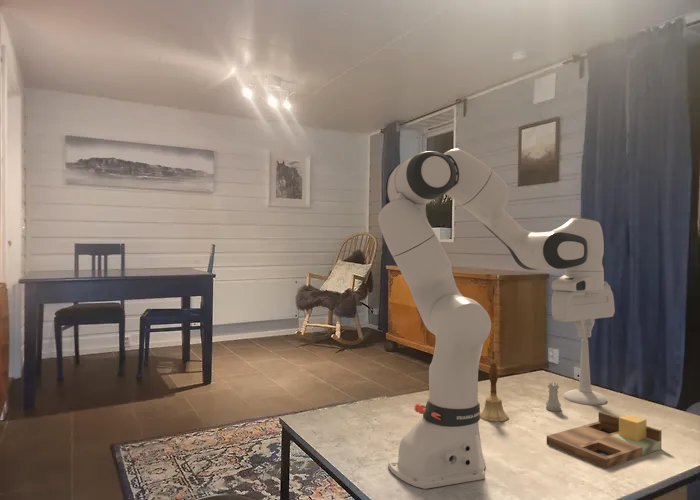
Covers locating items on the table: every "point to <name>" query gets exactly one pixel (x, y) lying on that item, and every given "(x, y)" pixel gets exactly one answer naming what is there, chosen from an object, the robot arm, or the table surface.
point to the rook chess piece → (553, 398)
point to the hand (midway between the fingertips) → (584, 337)
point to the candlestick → (585, 382)
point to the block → (632, 427)
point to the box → (604, 442)
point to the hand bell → (493, 400)
